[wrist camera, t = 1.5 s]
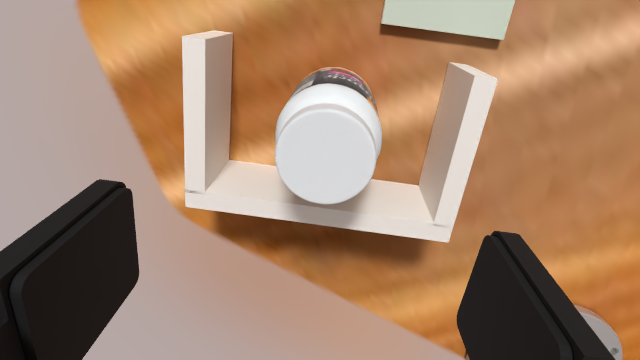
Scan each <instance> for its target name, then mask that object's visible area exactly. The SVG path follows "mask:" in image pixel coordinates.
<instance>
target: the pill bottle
mask: <svg viewBox="0 0 640 360" xmlns="http://www.w3.org/2000/svg"><path fill="white" fill-rule="evenodd" d="M275 138H276V149H275V162H276V167H277V170H278V173H279V175H280V177H281V179H282V181H283V182H284V183H285V185H286V186H287V187H288V188H289V189H290V190H291V191H292V192H293V193H294V194H296V195H297V196H299V197H301V198H302V199H305V200H307V201H309V202H313V203H318V204H336V203H340V202H343V201H346V200H348V199H350V198H352V197H354V196H356V195H357V194H358V193H360V192H361V191H362V190H363V189H364V188H365V187H366V185H367V184H368V183H369V181H370V179H371V177H372V175H373V173H374V170H375V166H376V160H377V158H378V156H379V153H380V150H381V145H382V129H381V124H380V120H379V116H378V113H377V107H376V104H375V101H374V97H373V94H372V92H371V90H370V88H369V87H368V85H367V84H366V82H365V81H364V80H363V79H362V78H361V77H360V76H358V75H357V74H355V73H354V72H352V71H350V70H347V69H344V68H339V67H327V68H322V69H319V70H317V71H314V72H312V73H311V74H309V75H308V76H307V77H305V78H304V79H303V80H302V81H301V83H300V84H299V85H298V87H297V88H296V90H295V91H294V93H293V94H292V96H291V98H290V99H289V101H288V102H287V104H286V105H285V107H284V108H283V110H282V112H281V113H280V116H279V118H278V121H277V126H276V137H275Z"/></svg>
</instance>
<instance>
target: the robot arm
mask: <svg viewBox="0 0 640 360" xmlns="http://www.w3.org/2000/svg"><path fill="white" fill-rule="evenodd" d="M138 277H139V265H138V253H137V242H136V230H135V219H134V208H133V197H132V192H131V190H130V189H128V188H126V186H125V184H124V183H123V182H117V181H109V180H100V179H99V180H97V181H95V182H94V183H93V184H91V185H90V186H89V187H87V188H86V189H85V190H83V191H82V192H81V193H79V194H78V195H76V196H75V197H74V198H72V199H71V200H70V201H68V202H67V203H66V204H64V205H63V206H61V207H60V208H59V209H57V210H56V211H55V212H53V213H52V214H51V215H49V216H48V217H47V218H45V219H44V220H42V221H41V222H40V223H38V224H37V225H36V226H34V227H33V228H32V229H30V230H29V231H28V232H26V233H25V234H23V235H22V236H21V237H20V238H18V239H17V240H15V241H14V242H13V243H11V244H10V245H9V246H7V247H6V248H4V249H3V250H2V251H0V360H82V359H83V357H84V356H85V355H86V353H87V352H88V350H89V349H90V348H91V346H92V345H93V343H94V342H95V341H96V339H97V338H98V337H99V335H100V334H101V332H102V331H103V330H104V328H105V327H106V325H107V324H108V323H109V321H110V320H111V318H112V317H113V316H114V314H115V313H116V312H117V310H118V309H119V307H120V306H121V305H122V303H123V302H124V300H125V299H126V298H127V296H128V295H129V293H130V292H131V291H132V289H133V288H134V286H135V285H136V283H137V280H138ZM457 326H458V329H459V332H460V335H461V337H462V340H463V343H464V346H465V348H466V351H467V356H466V360H622V358H623V352H622V345H621V342H620V340H619V338H618V336H617V334H616V333H615V332H614V330H613V329H612V328H611V327H610V325H609V324H608V323H607V322H606V321H605V320H604V319H603V318H602V317H601V316H599V315H597V314H596V313H594V312H592V311H591V310H589V309H586V308H583V307H580V306H578V305H573V304H572V302H571V301H570V300H569V298H568V297H567V296H566V295H565V293H564V292H563V291H562V289H561V288H560V287H559V285H558V284H557V283H556V282H555V280H554V279H553V278H552V276H551V275H550V274H549V272H548V271H547V270H546V269H545V267H544V266H543V265H542V263H541V262H540V261H539V259H538V258H537V257H536V256H535V254H534V253H533V252H532V250H531V249H530V248H529V246H528V245H527V244H526V243H525V241H524V240H523V239H522V237H521V236H520V235H519V234H516V233H508V232H500V231H494V232H493V233H492V234H491V236H489V235H487V236H485V238H484V239H483V242H482V245H481V248H480V250H479V253H478V256H477V259H476V262H475V265H474V267H473V270H472V273H471V276H470V279H469V282H468V284H467V287H466V290H465V293H464V296H463V299H462V301H461V304H460V307H459V310H458V313H457Z"/></svg>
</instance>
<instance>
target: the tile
mask: <svg viewBox="0 0 640 360" xmlns="http://www.w3.org/2000/svg"><path fill="white" fill-rule="evenodd" d="M514 2H515V0H385V1H384V6H383V12H382V18H381V24H389V25H396V26H403V27H411V28H418V29H426V30H433V31H440V32H448V33H455V34H463V35H470V36H477V37H485V38H492V39H500V40H503V39H504V36H505V33H506V29H507V26H508V23H509V19H510V16H511V13H512V9H513V6H514Z"/></svg>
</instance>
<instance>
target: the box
mask: <svg viewBox="0 0 640 360" xmlns="http://www.w3.org/2000/svg"><path fill="white" fill-rule="evenodd" d="M232 50H233V33H229V32H222V31H215V30H214V31H209V32H203V33H198V34H192V35H186V36H182V54H183V104H184V155H185V205H186V207H192V208H199V209H206V210H214V211H221V212H228V213H236V214H243V215H250V216H258V217H265V218H272V219H280V220H287V221H294V222H302V223H309V224H316V225H324V226H331V227H338V228H346V229H353V230H360V231H368V232H375V233H382V234H390V235H397V236H404V237H411V238H419V239H426V240H433V241H441V242H449V239H450V236H451V232H452V229H453V226H454V222H455V219H456V216H457V212H458V209H459V206H460V203H461V199H462V196H463V193H464V189H465V186H466V183H467V180H468V176H469V173H470V170H471V166H472V163H473V160H474V157H475V153H476V150H477V147H478V143H479V140H480V137H481V134H482V130H483V127H484V124H485V120H486V117H487V114H488V111H489V107H490V104H491V101H492V97H493V94H494V91H495V88H496V84H497V81H498V79H497V78H495V77H493V76H491V75H488V74H486V73H484V72H482V71H480V70H478V69H476V68H473V67H471V66H469V65H466V64H459V63H451V62H449V64H448V68H447V72H446V76H445V80H444V84H443V88H442V92H441V96H440V100H439V104H438V108H437V112H436V116H435V120H434V124H433V128H432V132H431V136H430V140H429V144H428V148H427V152H426V156H425V160H424V164H423V168H422V172H421V176H420V180H419V184H418V185H411V184H404V183H396V182H389V181H382V180H374V179H370V181H369V183H368V184H367V185H366V187H365V188H364V189H363V190H362V191H361V192H360V193H358V194H357V195H356V196H354V197H352V198H350V199H348V200H346V201H343V202H340V203H336V204H318V203H313V202H309V201H307V200H305V199H302V198H301V197H299V196H297V195H296V194H294V193H293V192H292V191H291V190H290V189H289V188H288V187H287V186H286V185H285V183H284V182H283V181H282V179H281V177H280V175H279V173H278V170H277V167H276V166H272V165H264V164H257V163H250V162H242V161H235V160H229V150H230V117H231V83H232Z"/></svg>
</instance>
